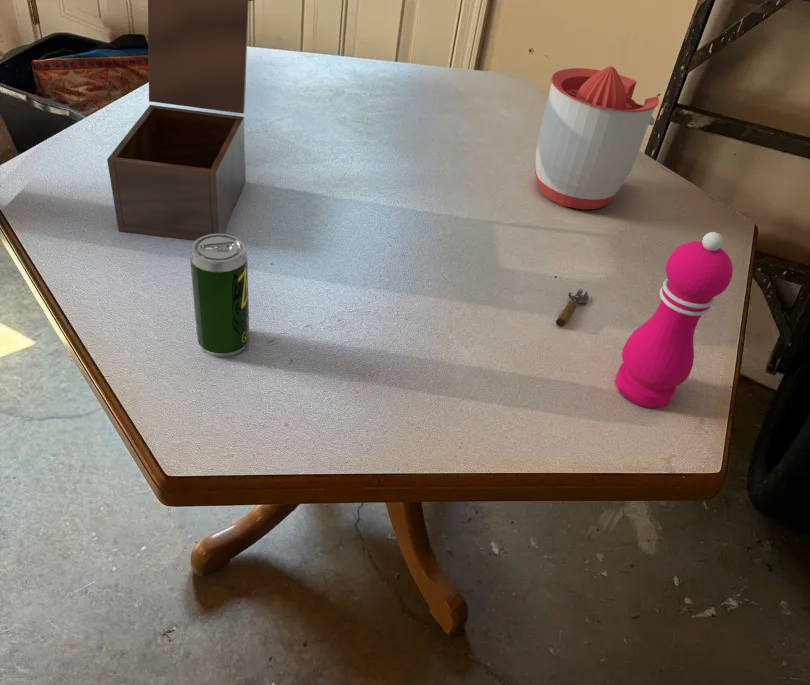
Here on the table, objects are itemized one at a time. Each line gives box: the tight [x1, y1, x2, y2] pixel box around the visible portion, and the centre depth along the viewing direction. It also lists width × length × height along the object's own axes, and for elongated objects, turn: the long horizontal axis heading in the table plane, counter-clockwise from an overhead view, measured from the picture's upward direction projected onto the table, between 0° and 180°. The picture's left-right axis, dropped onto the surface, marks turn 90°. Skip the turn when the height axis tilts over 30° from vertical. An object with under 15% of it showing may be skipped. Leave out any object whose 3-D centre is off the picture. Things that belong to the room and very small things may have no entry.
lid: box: [147, 0, 250, 114], centre depth 92 cm, size 17×13×1 cm
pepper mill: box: [614, 231, 734, 409], centre depth 71 cm, size 7×7×20 cm
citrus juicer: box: [534, 65, 660, 210], centre depth 106 cm, size 16×17×20 cm
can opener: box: [555, 288, 589, 327], centre depth 87 cm, size 9×2×1 cm, turn 145°
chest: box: [106, 104, 246, 241], centre depth 92 cm, size 17×13×10 cm
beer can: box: [189, 233, 250, 358], centre depth 71 cm, size 5×5×12 cm
